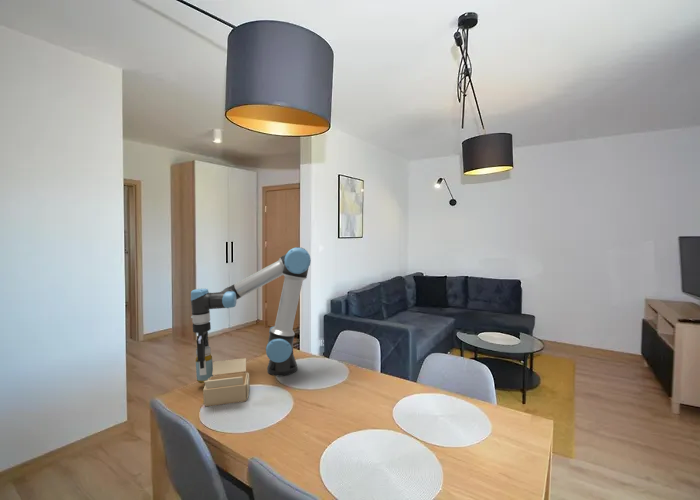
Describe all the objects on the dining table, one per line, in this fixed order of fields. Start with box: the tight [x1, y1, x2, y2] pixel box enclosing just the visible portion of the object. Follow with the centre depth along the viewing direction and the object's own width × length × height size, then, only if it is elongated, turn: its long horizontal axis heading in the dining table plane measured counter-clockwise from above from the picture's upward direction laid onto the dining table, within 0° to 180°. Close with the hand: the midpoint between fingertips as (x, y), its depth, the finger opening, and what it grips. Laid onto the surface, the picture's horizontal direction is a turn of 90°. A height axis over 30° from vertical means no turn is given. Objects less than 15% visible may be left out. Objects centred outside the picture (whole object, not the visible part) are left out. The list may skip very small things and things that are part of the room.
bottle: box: [195, 345, 214, 384], centre depth 156 cm, size 7×7×15 cm
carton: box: [202, 371, 251, 408], centre depth 147 cm, size 17×14×7 cm
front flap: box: [204, 377, 243, 389], centre depth 138 cm, size 6×14×1 cm
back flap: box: [212, 357, 247, 376], centre depth 155 cm, size 6×14×1 cm
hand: (204, 371), depth 156 cm, fingers closed on bottle, 7 cm apart
